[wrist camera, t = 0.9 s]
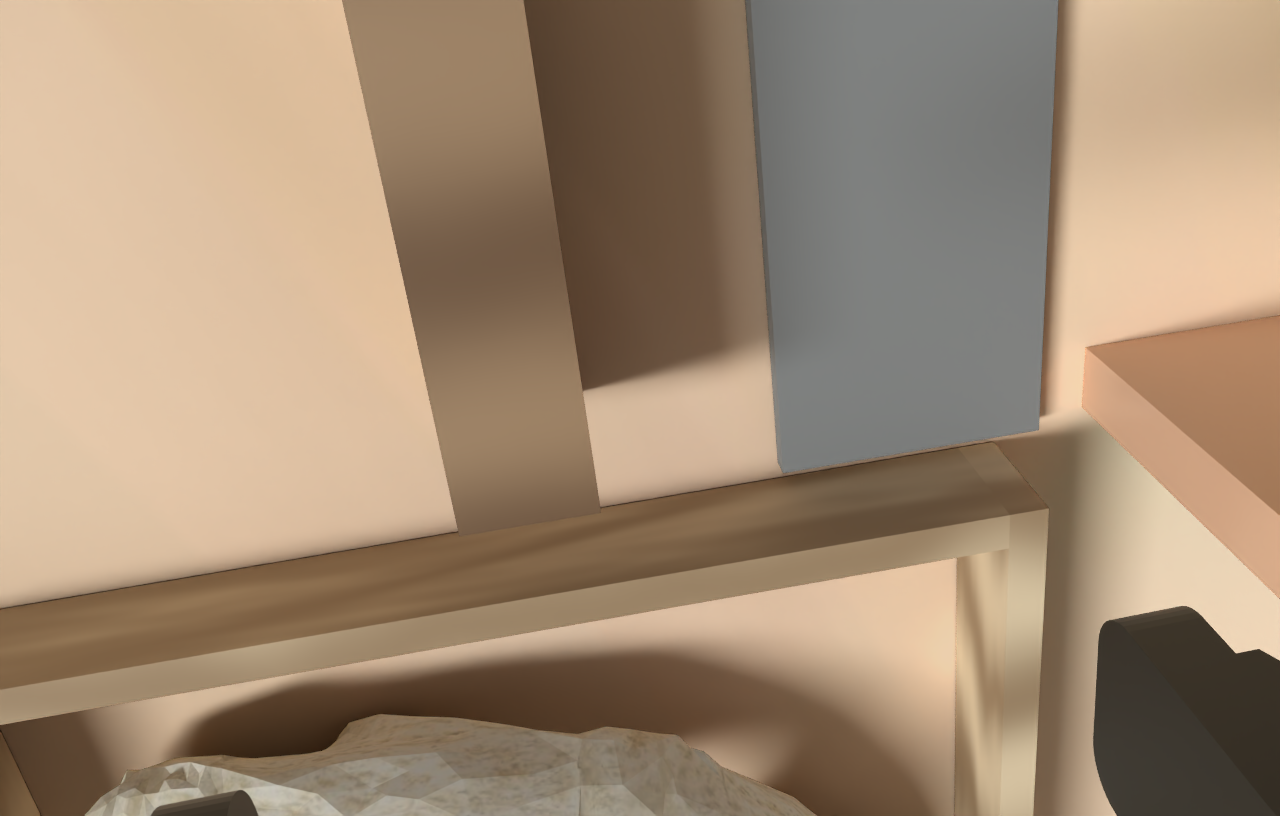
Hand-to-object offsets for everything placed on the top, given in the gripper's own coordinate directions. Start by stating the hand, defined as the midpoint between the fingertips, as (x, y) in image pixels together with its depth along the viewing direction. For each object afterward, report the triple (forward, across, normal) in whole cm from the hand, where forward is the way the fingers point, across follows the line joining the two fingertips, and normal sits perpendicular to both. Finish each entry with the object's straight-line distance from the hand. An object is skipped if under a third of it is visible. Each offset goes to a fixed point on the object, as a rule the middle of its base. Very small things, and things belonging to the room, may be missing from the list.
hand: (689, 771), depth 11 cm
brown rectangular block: (+19, +2, -1) cm, 19 cm away
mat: (+19, -8, +1) cm, 21 cm away
